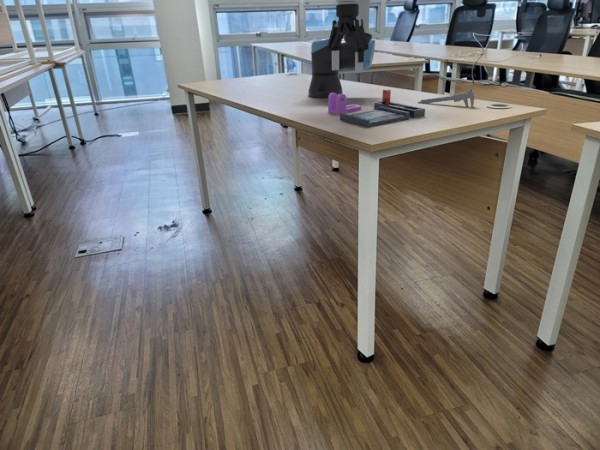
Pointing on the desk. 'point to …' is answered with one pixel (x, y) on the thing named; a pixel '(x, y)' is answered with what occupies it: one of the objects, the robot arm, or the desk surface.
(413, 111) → the frame
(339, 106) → the bracket
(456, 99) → the caliper
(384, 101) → the lever
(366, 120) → the press bed
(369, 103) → the desk surface
